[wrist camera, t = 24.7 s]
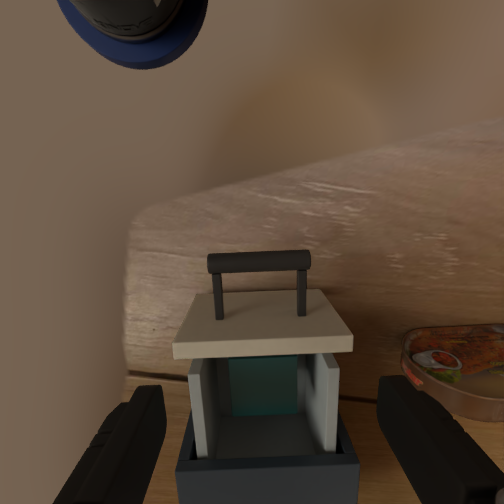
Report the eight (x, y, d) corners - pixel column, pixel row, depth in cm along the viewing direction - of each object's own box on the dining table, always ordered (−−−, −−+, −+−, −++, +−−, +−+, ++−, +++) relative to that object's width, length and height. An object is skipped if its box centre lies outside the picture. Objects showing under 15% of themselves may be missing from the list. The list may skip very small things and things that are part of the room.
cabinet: (200, 373, 26) (174, 472, 17) (321, 367, 26) (360, 464, 17) (211, 479, 30) (194, 610, 21) (318, 474, 30) (349, 603, 21)
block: (232, 323, 23) (227, 359, 18) (287, 321, 23) (297, 356, 18) (235, 371, 24) (231, 417, 19) (287, 369, 24) (297, 414, 19)
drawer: (191, 241, 22) (161, 267, 15) (321, 236, 22) (358, 259, 15) (208, 413, 27) (192, 503, 19) (316, 409, 27) (344, 496, 19)
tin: (533, 321, 26) (667, 383, 17) (526, 349, 26) (652, 421, 18) (383, 328, 26) (447, 394, 17) (381, 356, 26) (441, 431, 18)
